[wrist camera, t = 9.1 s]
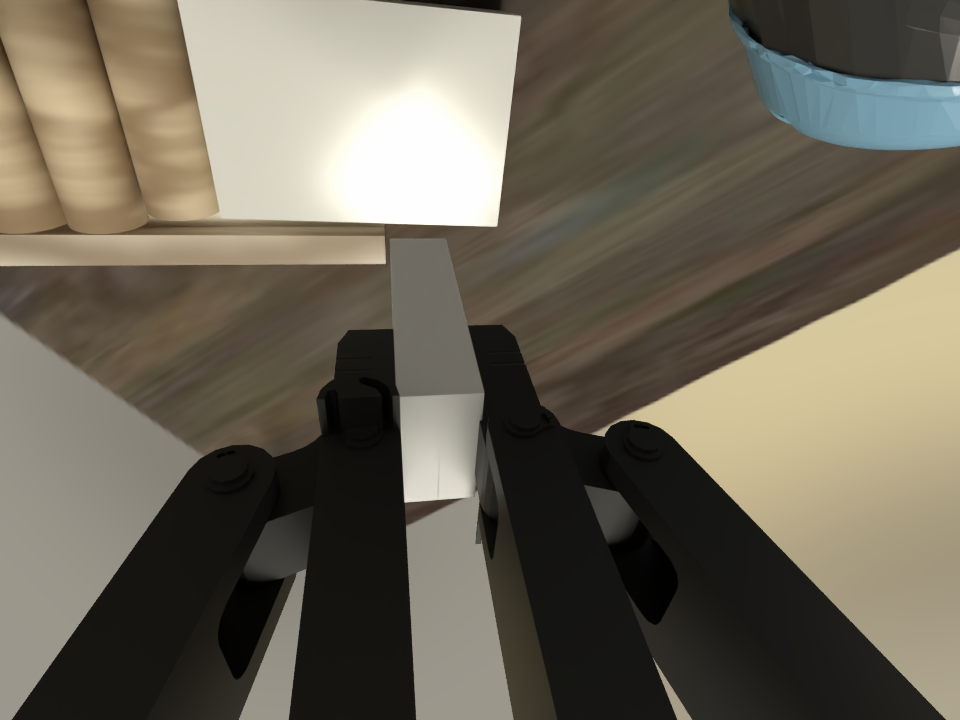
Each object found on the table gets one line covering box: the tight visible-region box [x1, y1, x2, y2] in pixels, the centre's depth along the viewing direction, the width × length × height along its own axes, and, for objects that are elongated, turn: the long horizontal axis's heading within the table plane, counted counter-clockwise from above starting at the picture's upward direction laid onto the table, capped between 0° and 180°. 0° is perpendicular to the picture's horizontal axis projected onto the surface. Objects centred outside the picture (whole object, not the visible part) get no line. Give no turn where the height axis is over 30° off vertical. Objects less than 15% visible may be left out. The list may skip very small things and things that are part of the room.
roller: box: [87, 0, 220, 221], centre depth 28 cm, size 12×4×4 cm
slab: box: [177, 0, 521, 227], centre depth 30 cm, size 11×16×4 cm
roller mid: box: [0, 0, 149, 234], centre depth 27 cm, size 12×4×4 cm, turn 174°
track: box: [0, 212, 386, 266], centre depth 26 cm, size 18×26×10 cm
